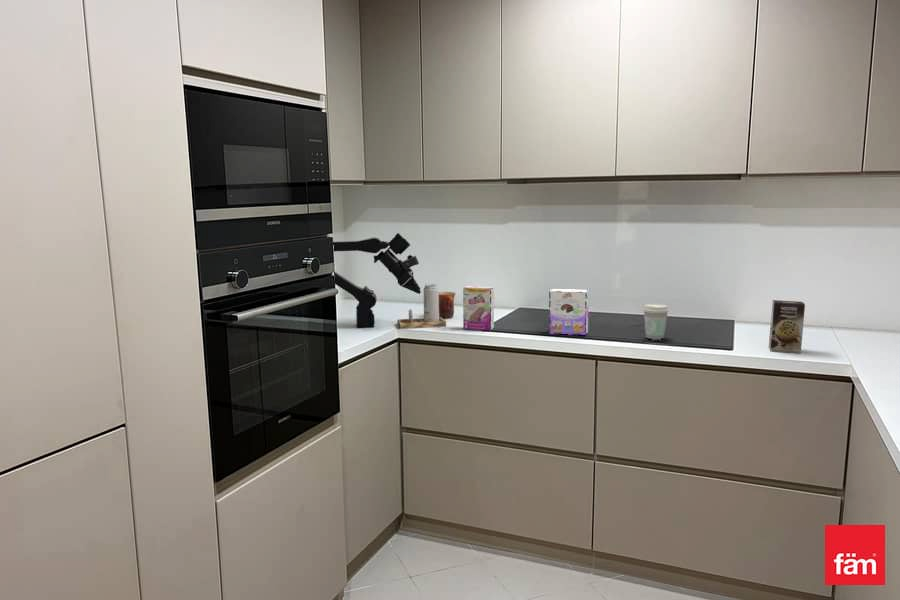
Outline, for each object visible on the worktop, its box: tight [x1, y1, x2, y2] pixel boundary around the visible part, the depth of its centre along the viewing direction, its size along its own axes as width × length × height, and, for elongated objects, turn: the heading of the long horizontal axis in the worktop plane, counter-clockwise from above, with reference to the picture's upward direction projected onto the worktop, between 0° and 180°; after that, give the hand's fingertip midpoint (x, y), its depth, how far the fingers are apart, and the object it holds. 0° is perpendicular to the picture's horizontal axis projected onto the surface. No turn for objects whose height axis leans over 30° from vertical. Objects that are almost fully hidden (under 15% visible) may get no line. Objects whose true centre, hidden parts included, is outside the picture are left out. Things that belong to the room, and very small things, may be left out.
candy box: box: [548, 288, 590, 336], centre depth 243 cm, size 14×6×16 cm, turn 70°
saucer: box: [408, 308, 414, 323], centre depth 260 cm, size 1×6×6 cm, turn 12°
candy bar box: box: [462, 285, 495, 332], centre depth 252 cm, size 11×5×16 cm, turn 72°
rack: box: [396, 317, 447, 330], centre depth 262 cm, size 18×9×2 cm, turn 102°
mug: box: [439, 291, 456, 320], centre depth 276 cm, size 12×9×10 cm
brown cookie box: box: [768, 299, 806, 354], centre depth 215 cm, size 9×6×16 cm
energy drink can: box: [422, 283, 440, 322], centre depth 261 cm, size 6×6×15 cm
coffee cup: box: [642, 303, 669, 339], centre depth 233 cm, size 8×8×12 cm
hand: (419, 291), depth 260 cm, fingers open, 9 cm apart
